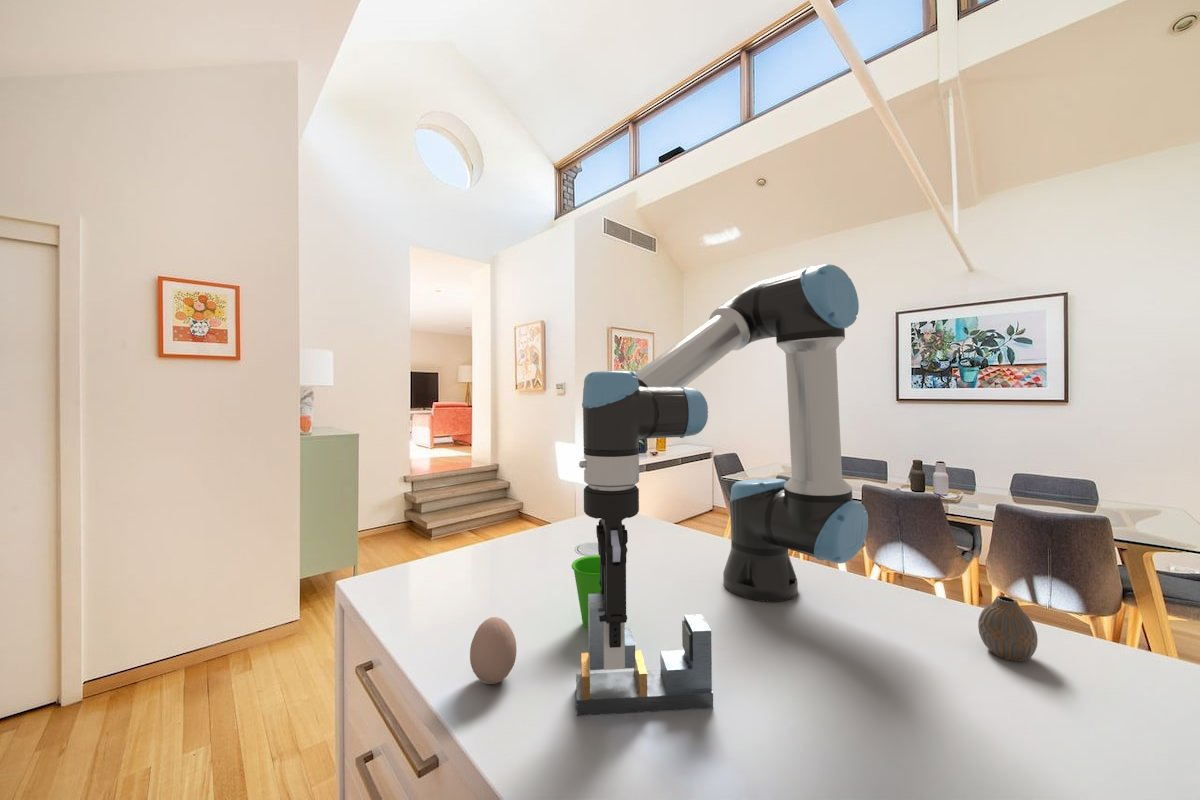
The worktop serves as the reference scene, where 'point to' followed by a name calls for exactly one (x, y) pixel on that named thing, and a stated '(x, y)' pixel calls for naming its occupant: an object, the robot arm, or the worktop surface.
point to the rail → (654, 679)
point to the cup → (586, 581)
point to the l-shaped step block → (597, 635)
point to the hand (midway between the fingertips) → (612, 655)
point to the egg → (493, 650)
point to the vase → (1007, 630)
